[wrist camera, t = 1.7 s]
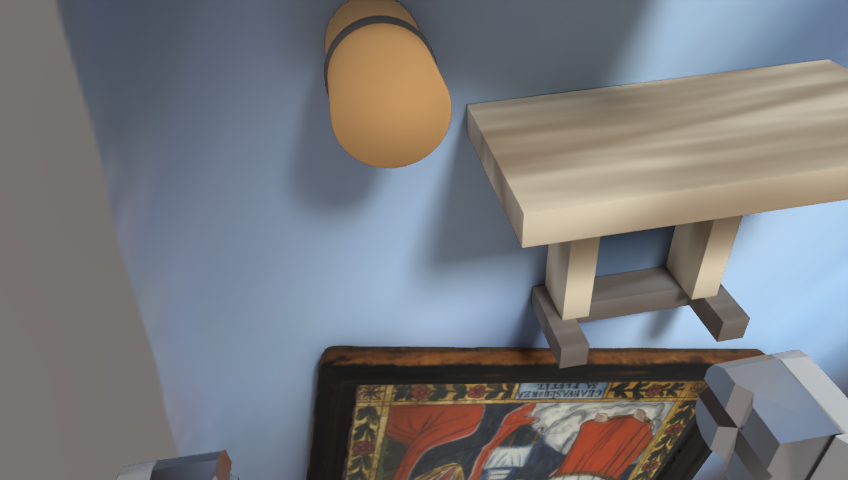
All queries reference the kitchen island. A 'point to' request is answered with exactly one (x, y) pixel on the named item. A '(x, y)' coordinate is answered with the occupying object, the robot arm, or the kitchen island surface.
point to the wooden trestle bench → (659, 182)
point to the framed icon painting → (509, 414)
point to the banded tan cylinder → (383, 85)
